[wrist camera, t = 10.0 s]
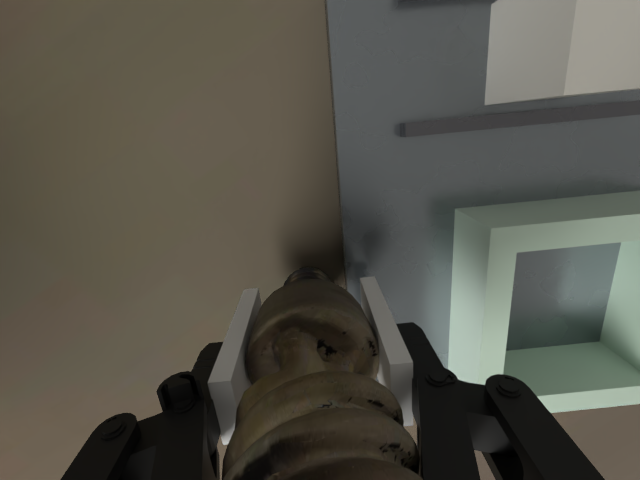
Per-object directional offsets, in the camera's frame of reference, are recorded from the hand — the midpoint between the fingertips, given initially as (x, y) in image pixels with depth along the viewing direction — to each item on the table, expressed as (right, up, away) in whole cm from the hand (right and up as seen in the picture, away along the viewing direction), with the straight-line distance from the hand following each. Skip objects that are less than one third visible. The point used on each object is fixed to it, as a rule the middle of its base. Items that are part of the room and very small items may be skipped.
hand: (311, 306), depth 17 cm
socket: (+13, +1, +1) cm, 13 cm away
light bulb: (0, +1, +2) cm, 2 cm away
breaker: (+10, +12, -2) cm, 16 cm away
